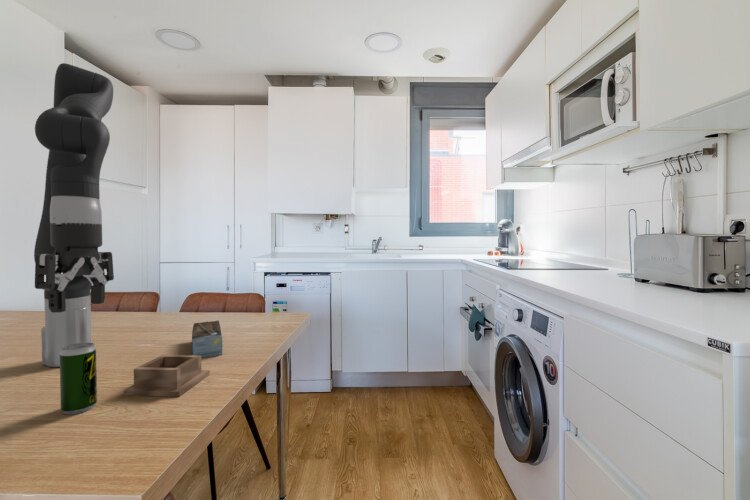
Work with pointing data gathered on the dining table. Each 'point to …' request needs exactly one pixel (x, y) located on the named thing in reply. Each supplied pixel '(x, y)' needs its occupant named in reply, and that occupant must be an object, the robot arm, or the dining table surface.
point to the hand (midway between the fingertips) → (79, 307)
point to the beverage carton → (207, 339)
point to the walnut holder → (167, 376)
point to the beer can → (78, 378)
